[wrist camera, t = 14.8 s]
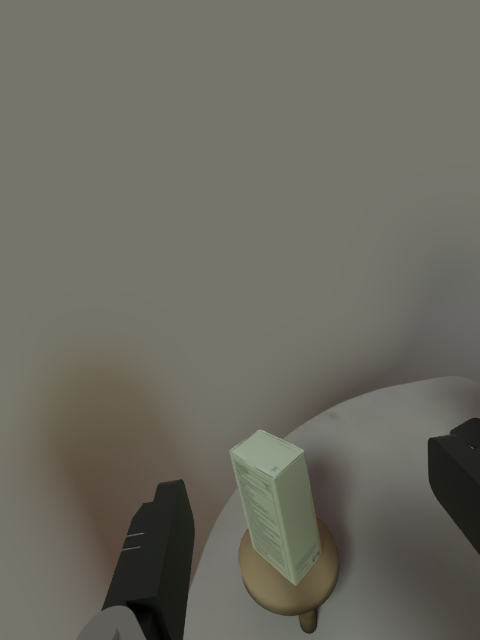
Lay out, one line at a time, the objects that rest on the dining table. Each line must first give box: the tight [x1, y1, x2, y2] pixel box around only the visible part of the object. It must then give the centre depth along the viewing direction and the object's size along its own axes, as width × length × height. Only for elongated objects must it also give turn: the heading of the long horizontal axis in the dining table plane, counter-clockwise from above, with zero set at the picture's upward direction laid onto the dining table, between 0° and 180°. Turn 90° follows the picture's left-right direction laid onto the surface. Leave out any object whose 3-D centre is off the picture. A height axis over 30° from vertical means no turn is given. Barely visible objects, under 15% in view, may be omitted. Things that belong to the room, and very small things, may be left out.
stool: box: [239, 517, 339, 634], centre depth 35 cm, size 10×10×6 cm
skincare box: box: [229, 430, 322, 586], centre depth 32 cm, size 6×4×12 cm
